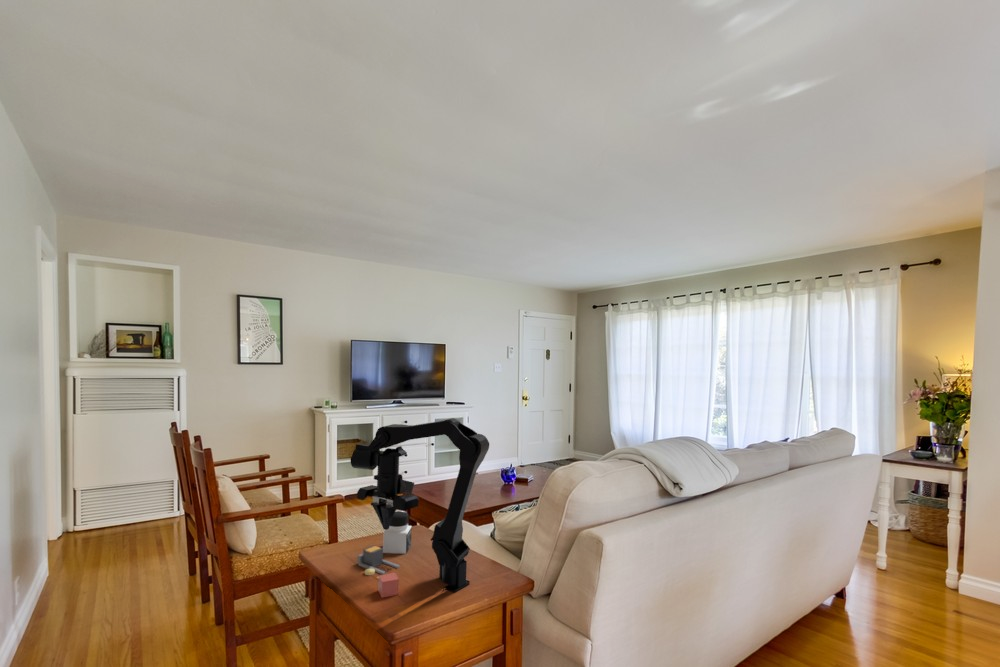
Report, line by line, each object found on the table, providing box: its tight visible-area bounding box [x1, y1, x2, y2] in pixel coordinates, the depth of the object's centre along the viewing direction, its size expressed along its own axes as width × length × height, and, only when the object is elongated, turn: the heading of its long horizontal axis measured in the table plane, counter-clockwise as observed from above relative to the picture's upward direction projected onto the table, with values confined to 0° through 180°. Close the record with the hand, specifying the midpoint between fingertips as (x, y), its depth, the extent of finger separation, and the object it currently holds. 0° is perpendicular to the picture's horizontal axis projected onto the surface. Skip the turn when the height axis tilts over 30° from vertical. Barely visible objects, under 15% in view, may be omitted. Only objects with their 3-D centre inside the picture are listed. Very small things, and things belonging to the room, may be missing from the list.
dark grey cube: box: [362, 545, 384, 568], centre depth 138 cm, size 4×4×4 cm
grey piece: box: [357, 553, 401, 580], centre depth 134 cm, size 15×9×4 cm, turn 55°
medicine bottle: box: [382, 510, 413, 555], centre depth 149 cm, size 7×7×12 cm
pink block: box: [377, 572, 400, 598], centre depth 121 cm, size 4×4×5 cm
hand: (386, 529), depth 135 cm, fingers closed
